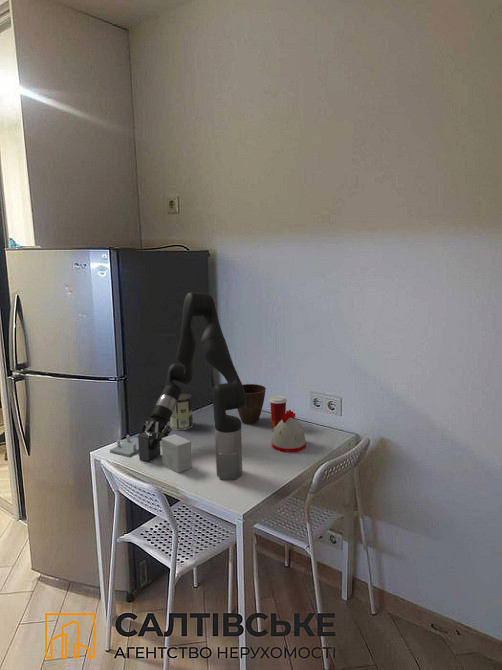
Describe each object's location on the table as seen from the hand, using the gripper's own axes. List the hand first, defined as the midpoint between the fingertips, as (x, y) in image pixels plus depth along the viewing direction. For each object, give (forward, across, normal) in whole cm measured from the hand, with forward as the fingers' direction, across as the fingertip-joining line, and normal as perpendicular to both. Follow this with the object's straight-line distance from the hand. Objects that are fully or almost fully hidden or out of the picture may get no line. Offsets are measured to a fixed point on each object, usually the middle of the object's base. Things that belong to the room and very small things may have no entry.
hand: (146, 448), depth 179 cm
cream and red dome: (-22, +44, +29) cm, 57 cm away
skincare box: (+3, +14, +4) cm, 15 cm away
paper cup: (-33, +32, +40) cm, 61 cm away
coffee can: (-21, -8, +28) cm, 36 cm away
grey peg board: (-1, -13, +7) cm, 15 cm away
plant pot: (-34, +17, +41) cm, 56 cm away
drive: (+2, 0, +5) cm, 5 cm away
